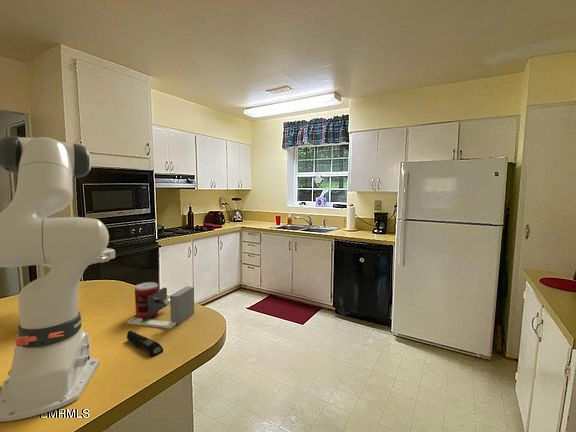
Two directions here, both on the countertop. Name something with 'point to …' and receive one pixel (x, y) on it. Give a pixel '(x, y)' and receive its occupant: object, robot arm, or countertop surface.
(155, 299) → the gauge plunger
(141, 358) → the countertop surface
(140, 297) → the canned food
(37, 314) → the robot arm
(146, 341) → the electric trimmer
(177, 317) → the push gauge
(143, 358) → the countertop surface
